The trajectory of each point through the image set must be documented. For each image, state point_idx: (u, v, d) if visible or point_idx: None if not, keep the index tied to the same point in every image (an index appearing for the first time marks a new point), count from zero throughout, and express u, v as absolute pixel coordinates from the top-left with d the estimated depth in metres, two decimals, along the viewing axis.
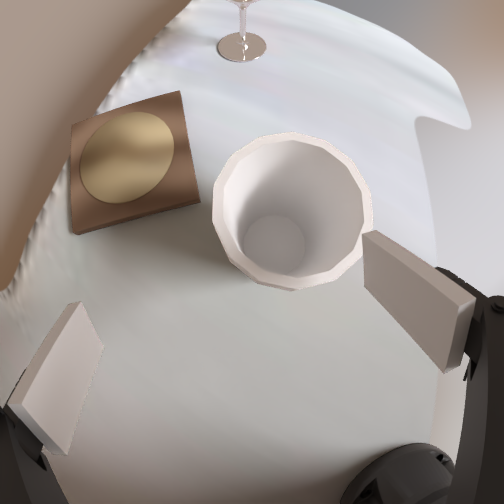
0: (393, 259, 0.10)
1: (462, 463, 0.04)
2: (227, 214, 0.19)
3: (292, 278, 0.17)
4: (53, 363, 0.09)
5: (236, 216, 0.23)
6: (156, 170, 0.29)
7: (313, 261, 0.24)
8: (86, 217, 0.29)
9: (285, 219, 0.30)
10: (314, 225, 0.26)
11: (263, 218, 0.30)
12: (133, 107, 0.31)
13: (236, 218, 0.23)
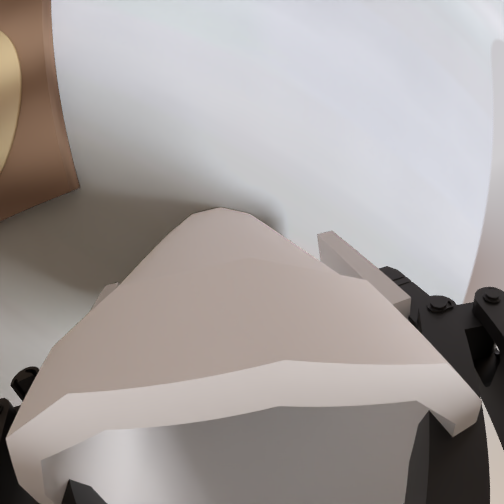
0: (340, 258, 0.12)
1: (413, 467, 0.05)
2: (85, 460, 0.05)
3: None
4: None
5: None
6: None
7: None
8: None
9: None
10: None
11: None
12: None
13: None
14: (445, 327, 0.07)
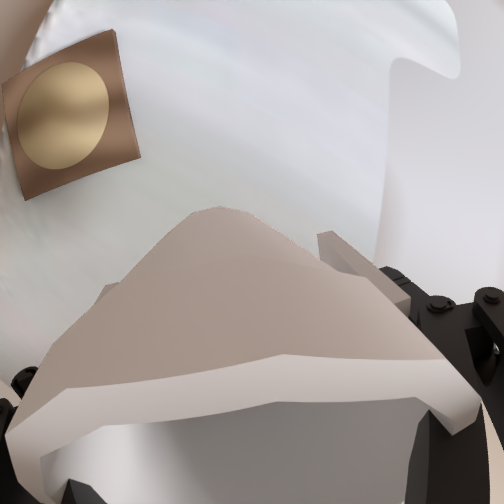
0: (340, 258, 0.12)
1: (413, 467, 0.05)
2: (84, 458, 0.05)
3: None
4: None
5: None
6: (93, 131, 0.25)
7: None
8: (34, 185, 0.26)
9: None
10: None
11: None
12: (62, 55, 0.21)
13: None
14: (444, 327, 0.07)
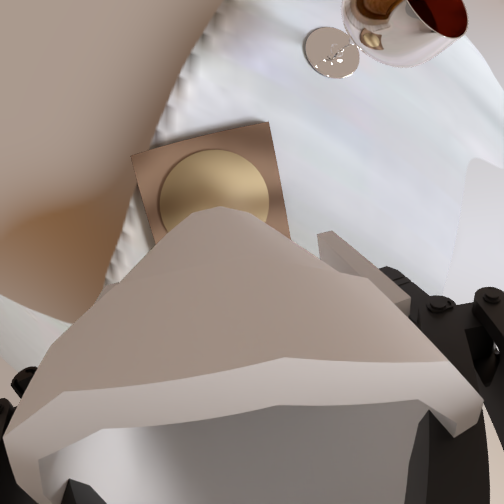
0: (339, 258, 0.12)
1: (413, 467, 0.05)
2: (83, 460, 0.05)
3: None
4: None
5: None
6: None
7: None
8: None
9: None
10: None
11: None
12: (213, 139, 0.29)
13: None
14: (445, 327, 0.07)
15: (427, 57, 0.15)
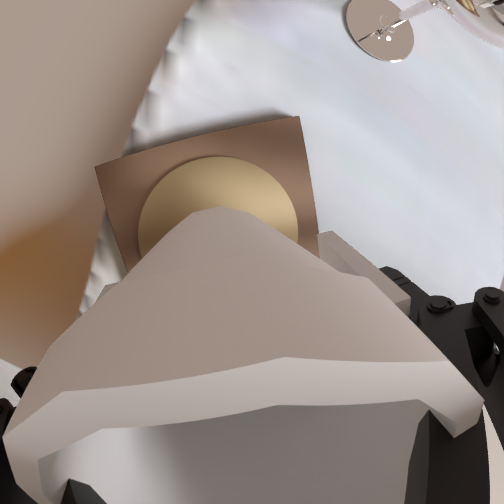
0: (339, 258, 0.12)
1: (413, 467, 0.05)
2: (83, 460, 0.05)
3: None
4: None
5: None
6: None
7: None
8: None
9: None
10: None
11: None
12: (216, 141, 0.19)
13: None
14: (445, 327, 0.07)
15: None
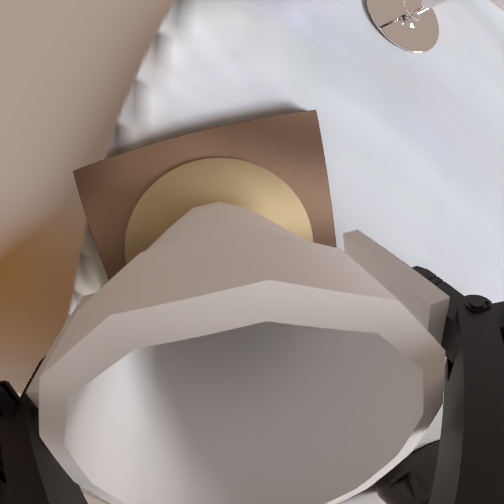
0: (371, 258, 0.11)
1: (442, 464, 0.05)
2: (98, 420, 0.07)
3: None
4: None
5: None
6: None
7: (283, 344, 0.14)
8: None
9: None
10: None
11: None
12: (217, 139, 0.16)
13: None
14: (482, 326, 0.06)
15: None
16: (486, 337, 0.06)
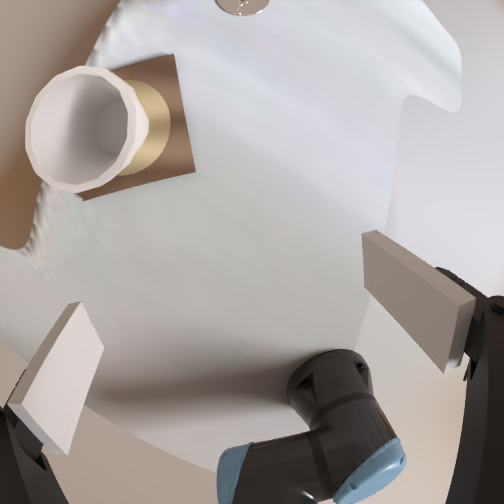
0: (393, 259, 0.10)
1: (462, 463, 0.04)
2: (42, 135, 0.19)
3: (72, 185, 0.19)
4: (53, 363, 0.09)
5: (68, 121, 0.22)
6: (155, 145, 0.31)
7: None
8: None
9: None
10: None
11: (112, 105, 0.28)
12: (125, 72, 0.28)
13: (69, 121, 0.23)
14: None
15: None
16: None
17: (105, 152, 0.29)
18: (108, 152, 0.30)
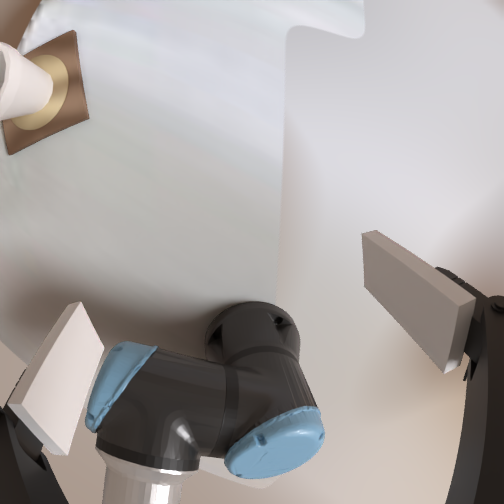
0: (393, 259, 0.10)
1: (462, 463, 0.04)
2: None
3: None
4: (53, 363, 0.09)
5: None
6: (57, 101, 0.31)
7: None
8: (15, 142, 0.32)
9: None
10: None
11: None
12: (39, 50, 0.28)
13: None
14: None
15: None
16: None
17: None
18: None
